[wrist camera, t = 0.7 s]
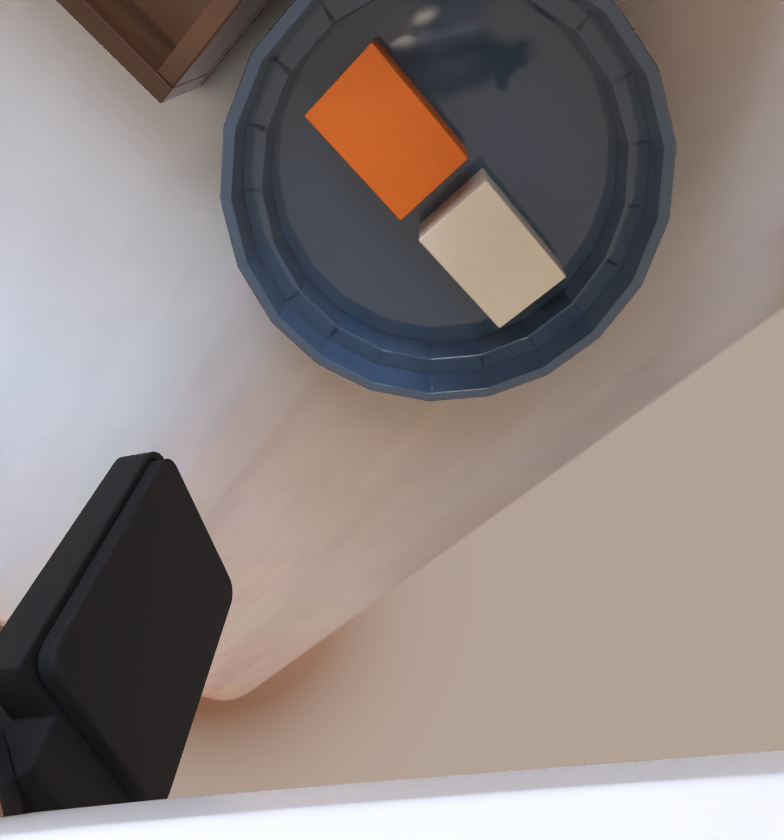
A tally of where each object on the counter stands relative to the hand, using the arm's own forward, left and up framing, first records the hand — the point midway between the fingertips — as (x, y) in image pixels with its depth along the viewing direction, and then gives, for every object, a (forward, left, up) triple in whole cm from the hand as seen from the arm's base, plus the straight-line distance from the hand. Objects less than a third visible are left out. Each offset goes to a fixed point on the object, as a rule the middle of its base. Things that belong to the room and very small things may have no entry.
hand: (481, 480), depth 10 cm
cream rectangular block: (+1, +5, -25) cm, 25 cm away
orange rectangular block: (+1, -2, -25) cm, 25 cm away
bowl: (+1, +1, -25) cm, 25 cm away
